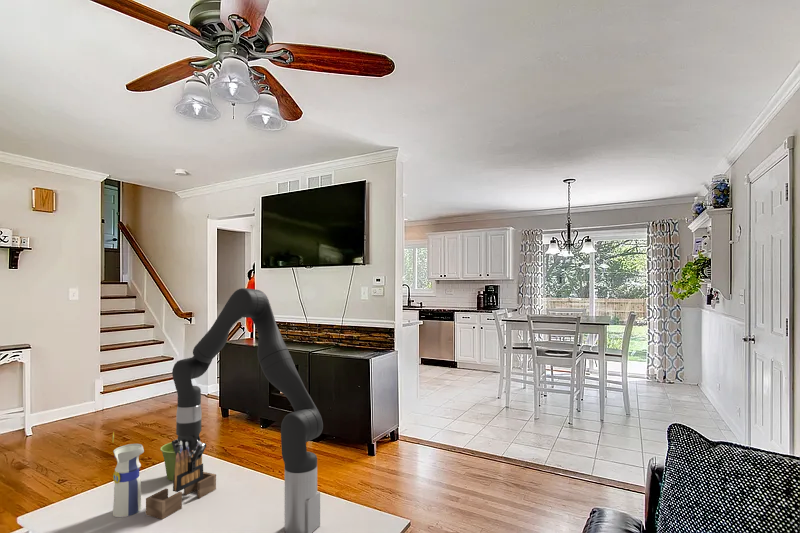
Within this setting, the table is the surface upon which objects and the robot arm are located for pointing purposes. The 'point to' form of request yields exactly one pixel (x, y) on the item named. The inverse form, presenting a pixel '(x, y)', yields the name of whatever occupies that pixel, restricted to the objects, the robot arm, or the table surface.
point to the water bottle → (127, 480)
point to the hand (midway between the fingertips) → (188, 471)
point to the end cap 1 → (163, 504)
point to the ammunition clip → (186, 472)
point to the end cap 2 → (203, 485)
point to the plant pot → (169, 460)
